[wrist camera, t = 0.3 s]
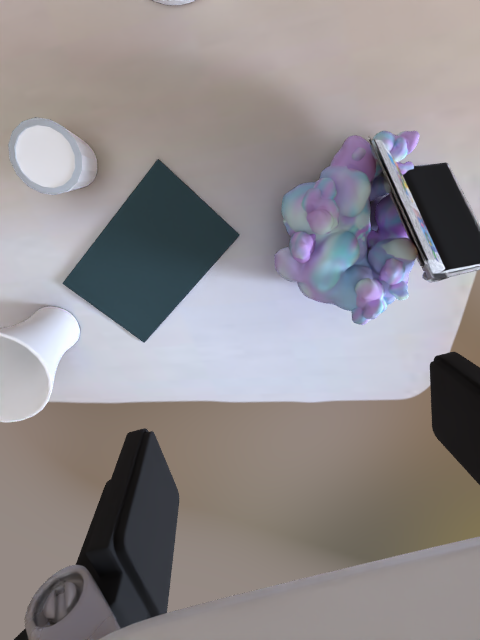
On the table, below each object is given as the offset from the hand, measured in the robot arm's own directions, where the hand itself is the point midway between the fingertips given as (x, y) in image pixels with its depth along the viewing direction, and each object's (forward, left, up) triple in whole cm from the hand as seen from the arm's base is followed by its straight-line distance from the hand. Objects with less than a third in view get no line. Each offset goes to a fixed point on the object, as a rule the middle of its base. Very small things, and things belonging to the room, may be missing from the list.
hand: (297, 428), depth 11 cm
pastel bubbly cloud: (+9, +13, -36) cm, 39 cm away
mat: (-7, -8, -36) cm, 37 cm away
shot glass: (-21, -5, -36) cm, 42 cm away
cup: (-11, -24, -36) cm, 45 cm away
